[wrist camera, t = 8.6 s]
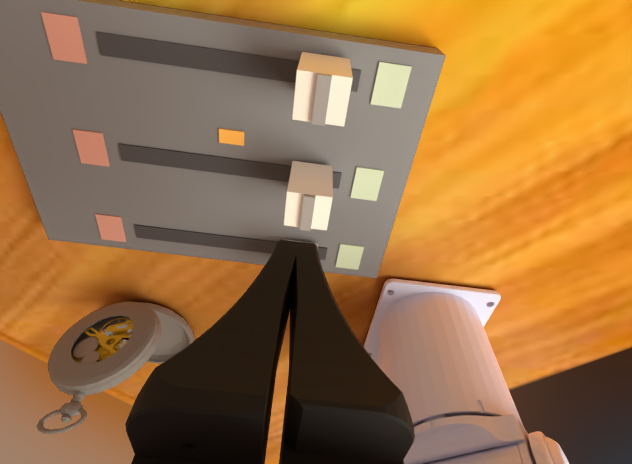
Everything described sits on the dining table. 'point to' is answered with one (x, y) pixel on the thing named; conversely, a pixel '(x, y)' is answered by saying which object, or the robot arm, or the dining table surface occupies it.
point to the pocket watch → (111, 351)
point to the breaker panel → (203, 129)
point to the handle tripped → (309, 196)
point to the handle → (322, 89)
